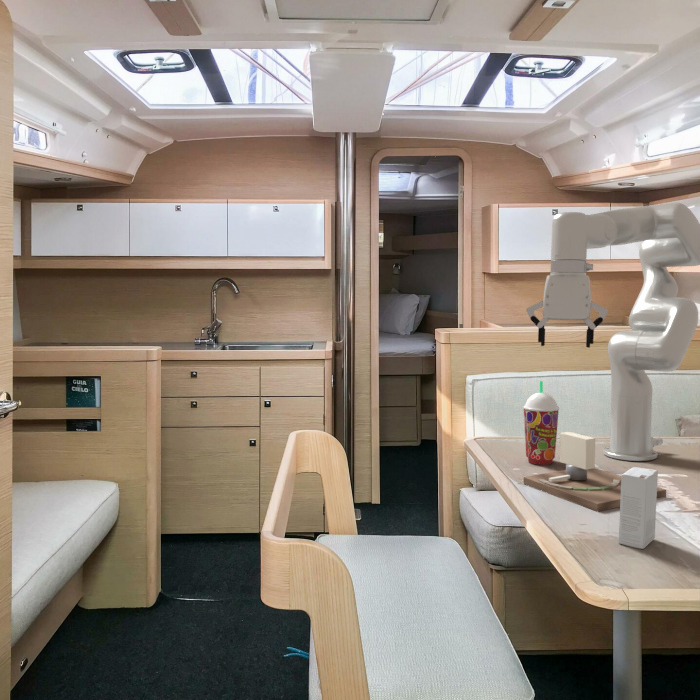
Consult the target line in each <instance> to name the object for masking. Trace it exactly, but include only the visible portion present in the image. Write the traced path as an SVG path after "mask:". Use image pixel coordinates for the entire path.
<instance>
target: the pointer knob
mask: <svg viewBox="0 0 700 700" xmlns="http://www.w3.org/2000/svg"><path fill="white" fill-rule="evenodd" d="M558 457H559V463H562V464H565V470H566V475H563V476H557V477H552V478H549V481H551V482H554V481H559V480H565V479H571V480H586V479H587V469H592V468H596V467H595V466H596V462H595V461H596V438H595V437H591V436H587V435H583V434H579V433H576V432H572V431H566V432H565V431H563V432H560V433H559V456H558Z"/></svg>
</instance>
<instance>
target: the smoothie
mask: <svg viewBox="0 0 700 700" xmlns="http://www.w3.org/2000/svg"><path fill="white" fill-rule="evenodd" d="M543 385H544V384H543V380H540V381H539V392H535V393H533V394H531V395H530V396H528V398H527V399H526V402H525V403H524V405H523V424H524V425H523V426H524V437H525V438H524V439H525V441H524V443H525V456H526V458H527V460H528V462H529V463H531V464H533V465H538V466H539V465H540V466H544V465H545V466H546V465H551V464H552V463H553V461H554V459H555V458H556V449H557V448H556V447H557V446H556V445H557V436H558V425H559V423H558V422H559V421H558V420H559V409H560V407H559V406H558V403H557V402H556V400H555V398H554V397H553V396H552V395H551V394H548V393H546V392H544V391H543V389H544V388H543V387H544V386H543Z"/></svg>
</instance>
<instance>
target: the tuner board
mask: <svg viewBox="0 0 700 700" xmlns="http://www.w3.org/2000/svg"><path fill="white" fill-rule="evenodd" d="M563 475H566V469H564V470H559V471H558V470H557V471H552V472H546V473H540V474H534V475H528V476H523V480H522V481H523V482H522V483H524V484H523V485H525V484H526V485H525V486H528V485H529V487H530V486H531V488H533V487H534V488H533V489H536V490H538V489H539V491H541V490H542V492H543V493H546V492H547V494H549V495H553V496H555V497H558V498H560V499H562V500H565V501H568V502H570V503H573V504H575V505H578V506H582V507H584V508H586V507H587V508H586V509H589V510H592V511H594V510H595V512H597V511H598V512H602V511H606V510H611V509H616V508H620V500H621V482H622V475H618V474H616V473H612V472H608V471H605V470H604V469H603V470H602V469H598V468H596V467H595V468H592V469H587V479H586V480H571V479H565V480H559V481H554V482H551V481H549V478H552V477H557V476H563ZM662 498H667V489H665V488H661V487H658V486H657V499H662Z"/></svg>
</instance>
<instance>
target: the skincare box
mask: <svg viewBox="0 0 700 700" xmlns="http://www.w3.org/2000/svg"><path fill="white" fill-rule="evenodd" d="M658 475H659V471H658V470H656V469H651V468H643V467H636V466H633V467H631V468H630V469H628V470H627V471H625V472H624V473H622V474H621V476H622V482H621V500H620V507H619V523H618V524H619V526H618V527H619V528H618V544H620V545H623V546H625V547H626V546H627V547H632V548H635V549H640V550H642V549H644V550H645V548H646V547H648V545H649V544H650V543H652V541H654V540H655V538H656V525H657V524H656V521H657V519H656V518H657V487H658V480H659V479H658Z"/></svg>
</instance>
